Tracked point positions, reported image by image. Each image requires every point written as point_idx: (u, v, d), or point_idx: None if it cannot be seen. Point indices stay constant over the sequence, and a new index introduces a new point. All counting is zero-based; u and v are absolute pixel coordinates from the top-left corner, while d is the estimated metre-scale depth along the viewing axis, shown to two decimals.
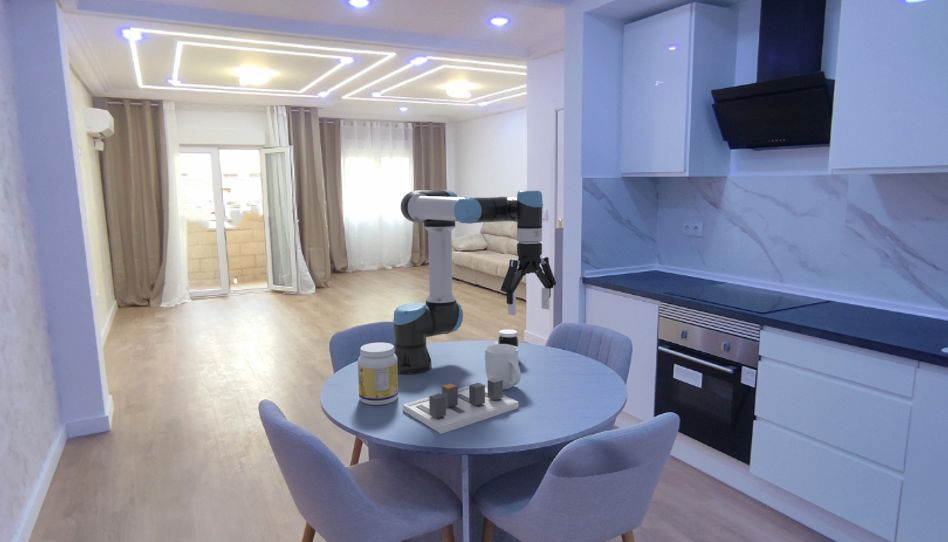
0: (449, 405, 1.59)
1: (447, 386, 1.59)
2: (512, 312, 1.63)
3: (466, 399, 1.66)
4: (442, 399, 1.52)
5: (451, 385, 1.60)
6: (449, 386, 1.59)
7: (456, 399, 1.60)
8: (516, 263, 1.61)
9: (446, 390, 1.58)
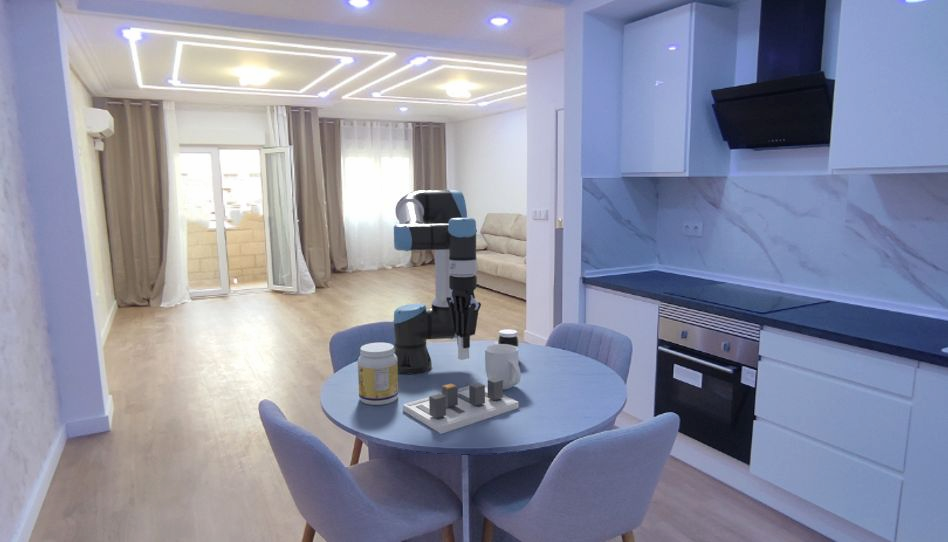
0: (449, 405, 1.59)
1: (447, 386, 1.59)
2: None
3: (466, 399, 1.66)
4: (442, 399, 1.52)
5: (451, 385, 1.60)
6: (449, 386, 1.59)
7: (456, 399, 1.60)
8: (448, 300, 1.54)
9: (446, 390, 1.58)
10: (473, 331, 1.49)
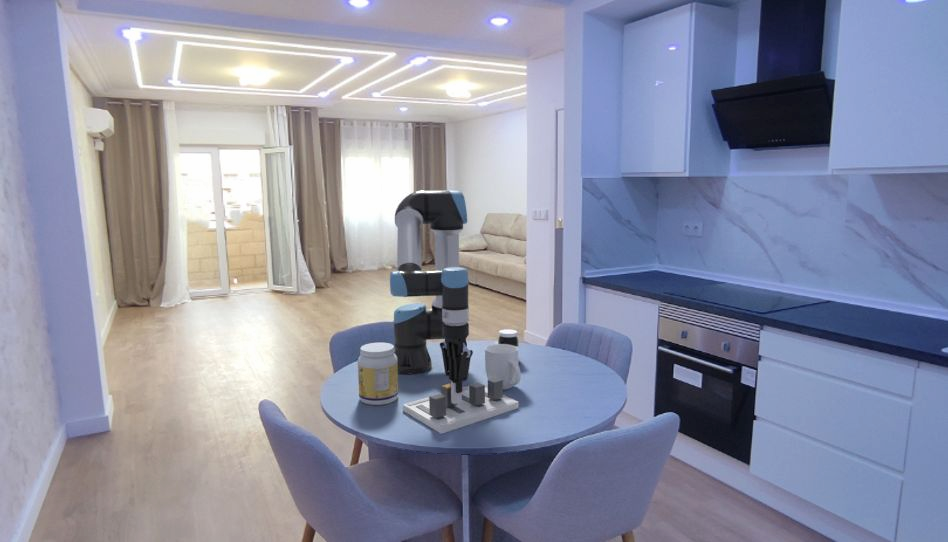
0: (448, 405, 1.59)
1: (446, 386, 1.60)
2: None
3: (466, 399, 1.66)
4: (442, 399, 1.52)
5: None
6: (448, 386, 1.60)
7: None
8: (441, 345, 1.59)
9: (445, 390, 1.59)
10: (465, 377, 1.54)
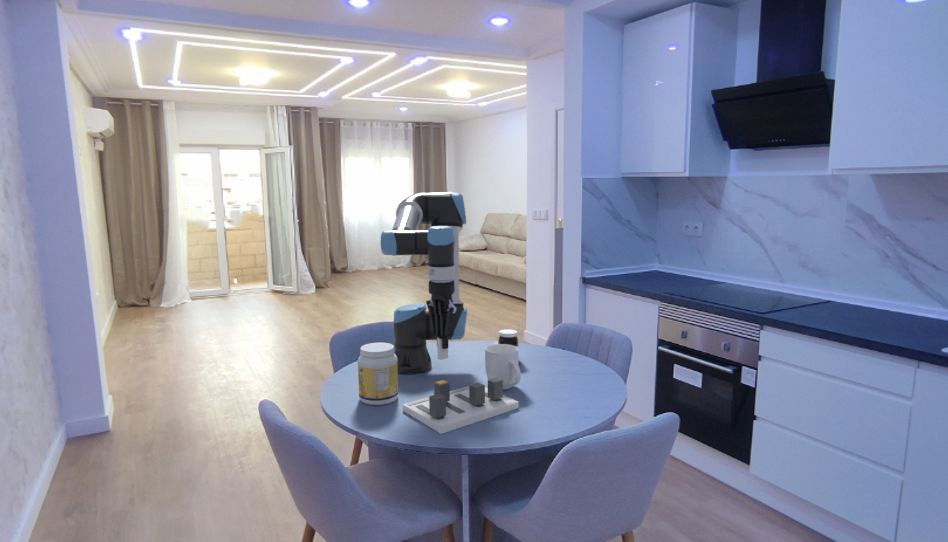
0: None
1: (439, 382, 1.63)
2: None
3: (466, 399, 1.66)
4: (442, 399, 1.52)
5: (443, 381, 1.63)
6: (441, 382, 1.63)
7: (448, 395, 1.63)
8: (427, 303, 1.63)
9: (438, 387, 1.62)
10: (451, 333, 1.59)
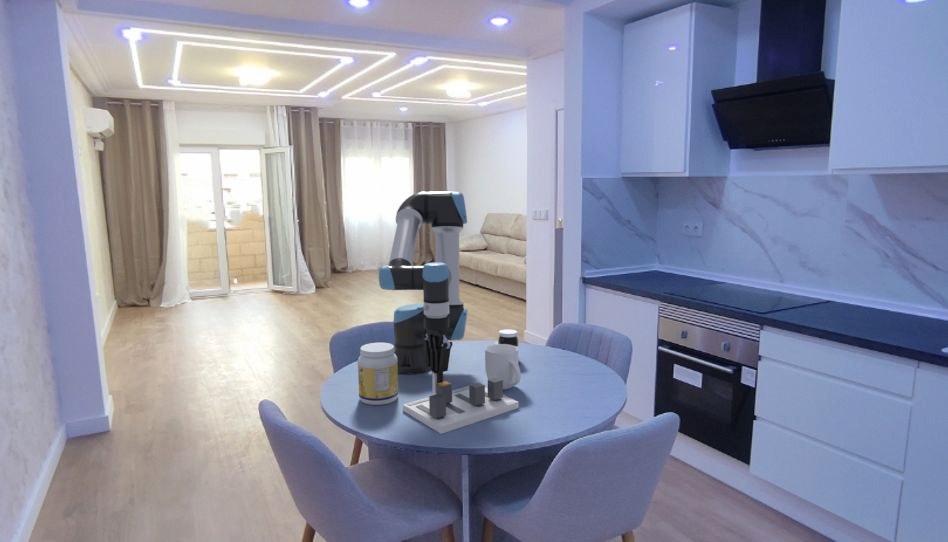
0: None
1: (442, 383, 1.62)
2: None
3: (466, 399, 1.66)
4: (442, 399, 1.52)
5: (446, 382, 1.62)
6: (444, 383, 1.62)
7: (451, 396, 1.62)
8: (423, 338, 1.66)
9: (441, 388, 1.61)
10: (446, 368, 1.61)
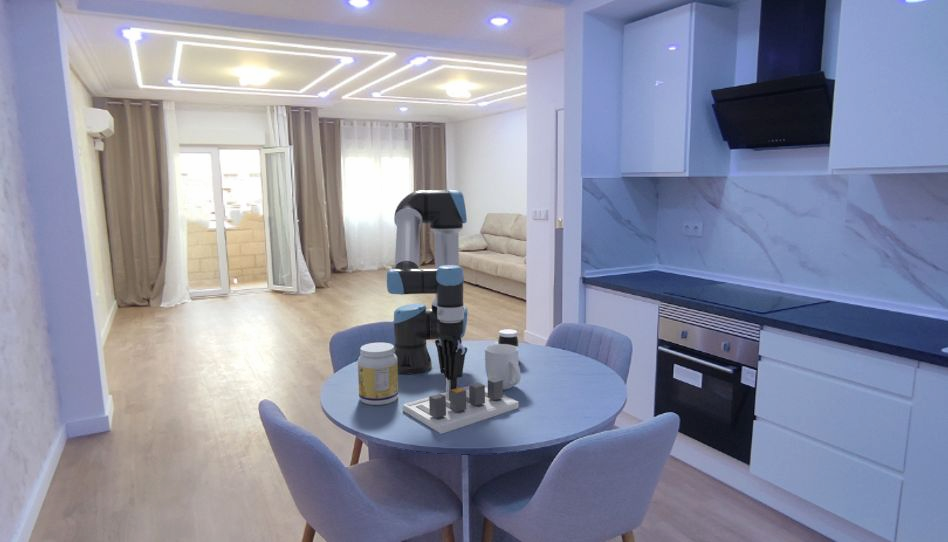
0: (457, 409, 1.56)
1: (455, 390, 1.56)
2: None
3: (466, 399, 1.66)
4: (442, 399, 1.52)
5: (459, 389, 1.57)
6: (457, 390, 1.56)
7: (465, 403, 1.57)
8: (436, 343, 1.61)
9: (454, 395, 1.55)
10: (460, 374, 1.56)
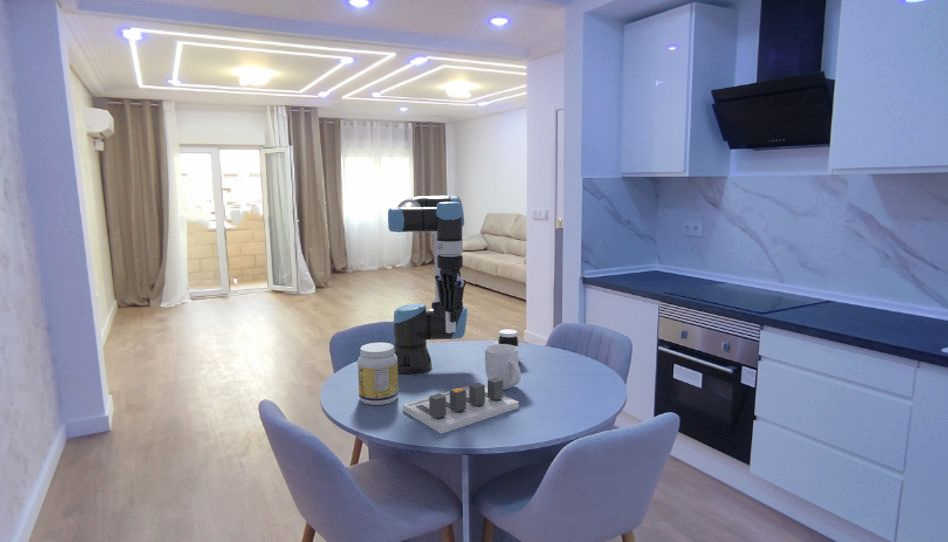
0: (457, 409, 1.56)
1: (455, 390, 1.56)
2: None
3: (466, 399, 1.66)
4: (442, 399, 1.52)
5: (459, 389, 1.57)
6: (457, 390, 1.56)
7: (465, 403, 1.57)
8: (436, 278, 1.67)
9: (454, 394, 1.55)
10: (459, 306, 1.62)
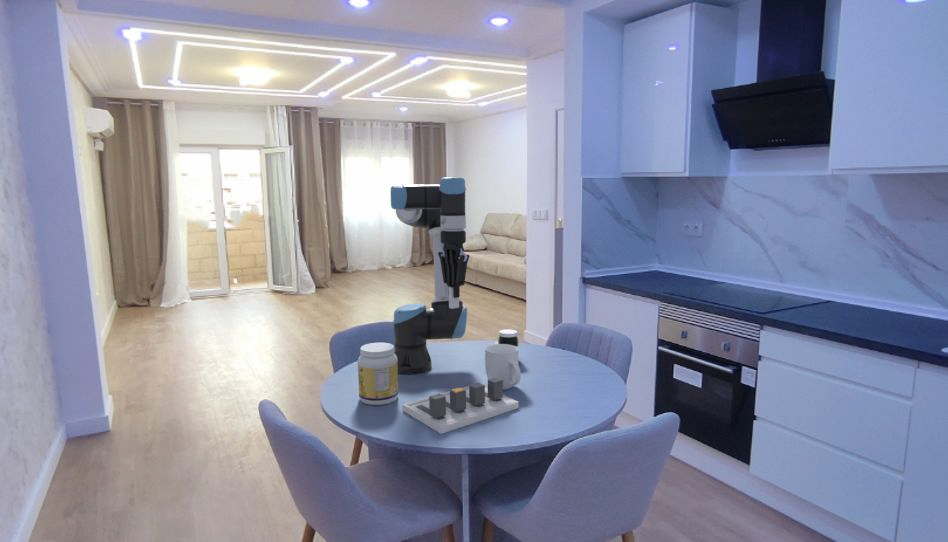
0: (457, 409, 1.56)
1: (455, 390, 1.56)
2: None
3: (466, 399, 1.66)
4: (442, 399, 1.52)
5: (459, 389, 1.57)
6: (457, 390, 1.56)
7: (465, 403, 1.57)
8: (439, 254, 1.68)
9: (454, 394, 1.55)
10: (462, 281, 1.63)
